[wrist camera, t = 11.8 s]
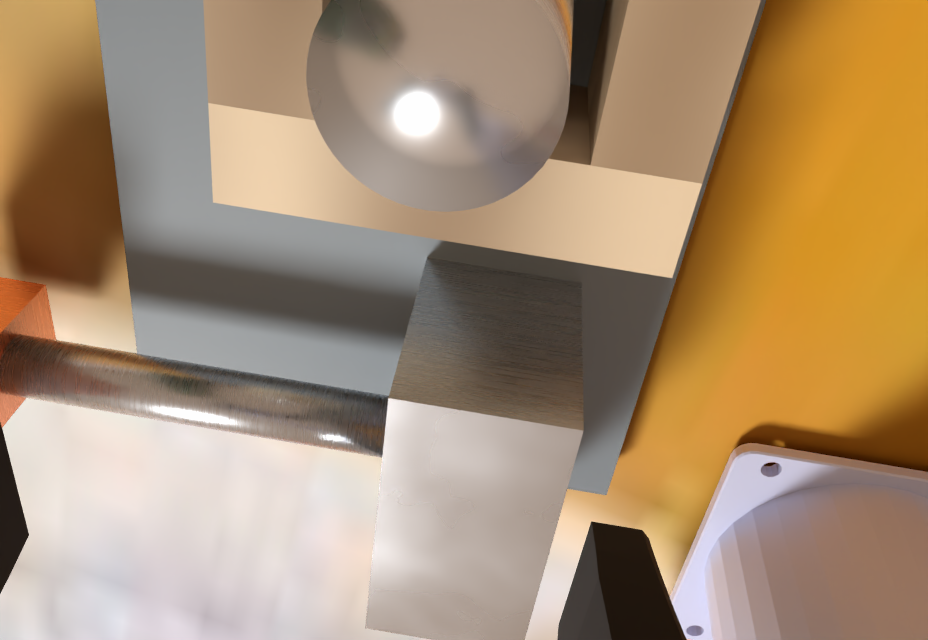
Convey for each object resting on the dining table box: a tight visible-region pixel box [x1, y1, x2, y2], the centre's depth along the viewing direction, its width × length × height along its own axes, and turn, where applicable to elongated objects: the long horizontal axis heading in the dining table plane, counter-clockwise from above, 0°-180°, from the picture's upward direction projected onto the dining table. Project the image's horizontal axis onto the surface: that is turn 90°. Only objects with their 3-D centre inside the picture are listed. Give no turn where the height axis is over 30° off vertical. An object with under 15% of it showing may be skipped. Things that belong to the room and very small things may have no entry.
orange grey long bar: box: [0, 277, 389, 457], centre depth 19 cm, size 13×2×4 cm, turn 83°
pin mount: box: [365, 257, 584, 640], centre depth 19 cm, size 4×7×5 cm, turn 173°
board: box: [95, 0, 766, 495], centre depth 18 cm, size 12×18×1 cm
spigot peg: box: [306, 0, 574, 212], centre depth 13 cm, size 3×3×7 cm
